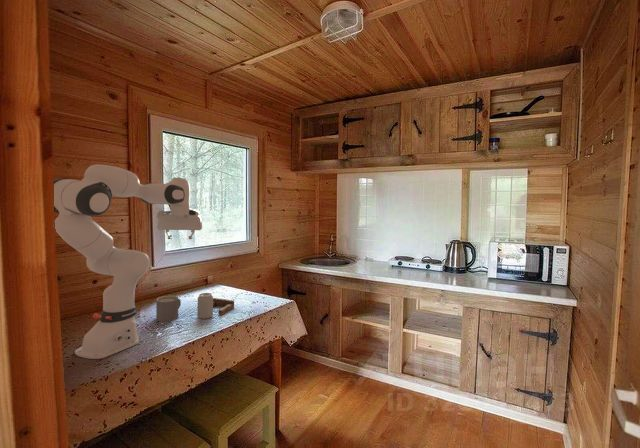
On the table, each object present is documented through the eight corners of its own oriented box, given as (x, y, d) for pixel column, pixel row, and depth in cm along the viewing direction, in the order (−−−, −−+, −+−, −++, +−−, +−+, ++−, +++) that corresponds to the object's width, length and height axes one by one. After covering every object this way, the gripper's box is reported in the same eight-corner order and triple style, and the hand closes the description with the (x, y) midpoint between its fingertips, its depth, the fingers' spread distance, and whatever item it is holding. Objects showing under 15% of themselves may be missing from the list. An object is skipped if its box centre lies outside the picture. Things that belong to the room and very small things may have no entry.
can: (215, 314, 165) (215, 292, 164) (208, 320, 158) (209, 296, 157) (201, 313, 166) (201, 291, 165) (194, 319, 158) (194, 295, 157)
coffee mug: (164, 323, 152) (164, 303, 151) (152, 318, 157) (152, 299, 156) (188, 315, 163) (188, 296, 163) (175, 311, 168) (176, 292, 167)
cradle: (221, 315, 165) (221, 307, 165) (200, 312, 168) (200, 304, 168) (234, 307, 177) (234, 300, 177) (213, 304, 180) (213, 297, 180)
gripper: (155, 210, 149) (155, 239, 150) (201, 212, 154) (201, 240, 155) (158, 210, 155) (158, 238, 156) (202, 211, 160) (202, 238, 161)
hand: (180, 239), depth 156 cm, fingers open, 8 cm apart
